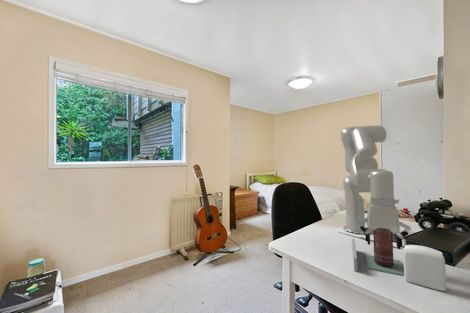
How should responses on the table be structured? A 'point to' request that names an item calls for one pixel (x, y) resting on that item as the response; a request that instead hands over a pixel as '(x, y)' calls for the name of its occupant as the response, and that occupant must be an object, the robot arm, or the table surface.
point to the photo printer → (424, 267)
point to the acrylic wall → (354, 255)
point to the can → (383, 248)
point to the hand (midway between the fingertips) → (383, 245)
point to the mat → (395, 269)
